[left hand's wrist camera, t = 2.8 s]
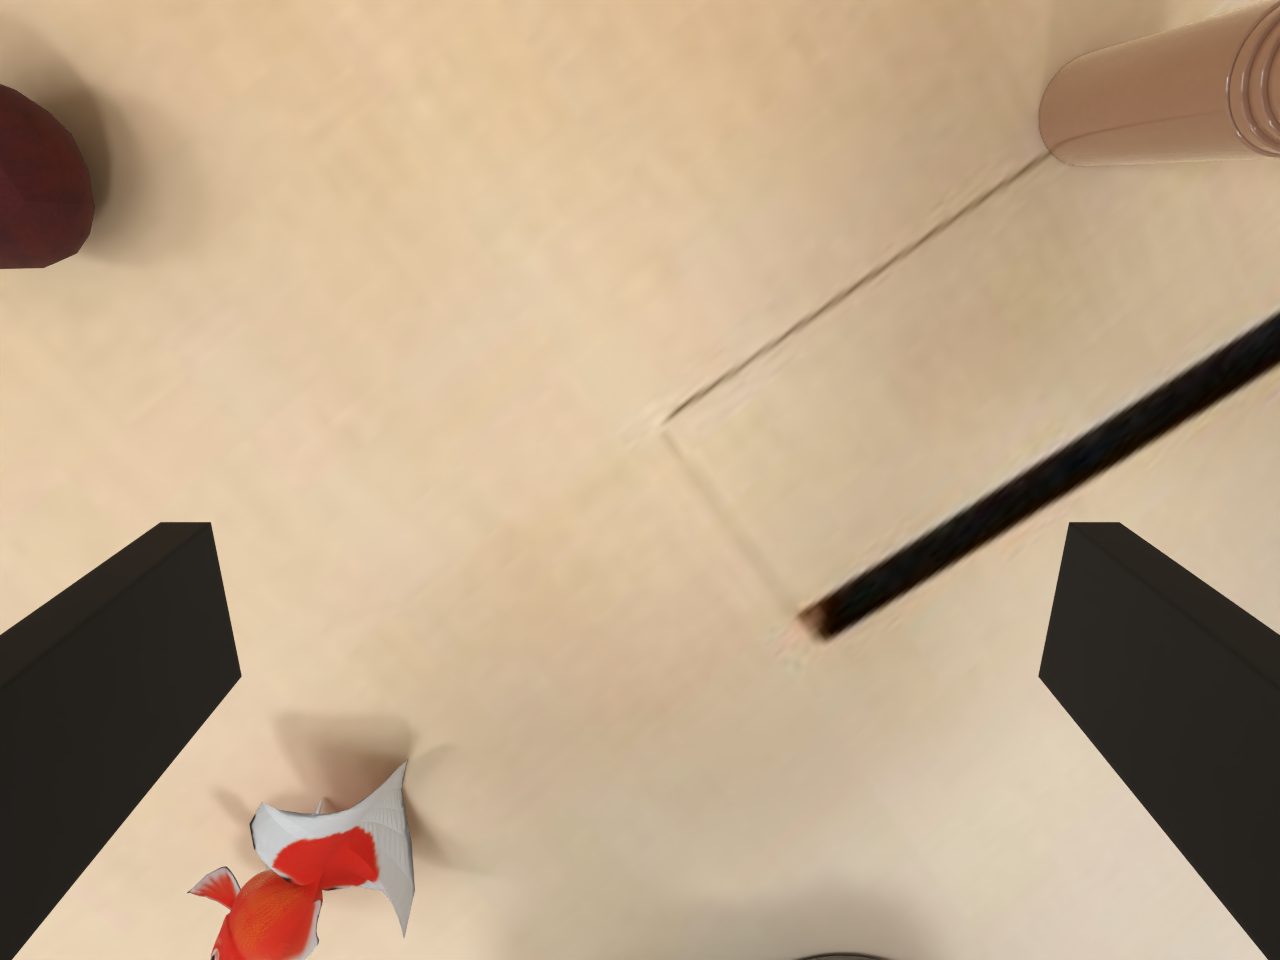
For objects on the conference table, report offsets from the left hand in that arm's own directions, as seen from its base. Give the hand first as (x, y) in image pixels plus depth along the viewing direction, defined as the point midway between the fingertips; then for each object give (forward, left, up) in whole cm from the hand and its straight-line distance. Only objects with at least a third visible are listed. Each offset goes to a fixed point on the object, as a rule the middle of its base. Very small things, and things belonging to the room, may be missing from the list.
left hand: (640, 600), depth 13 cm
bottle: (+9, -20, -28) cm, 36 cm away
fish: (-30, +19, -28) cm, 45 cm away
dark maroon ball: (+6, +27, -28) cm, 39 cm away
